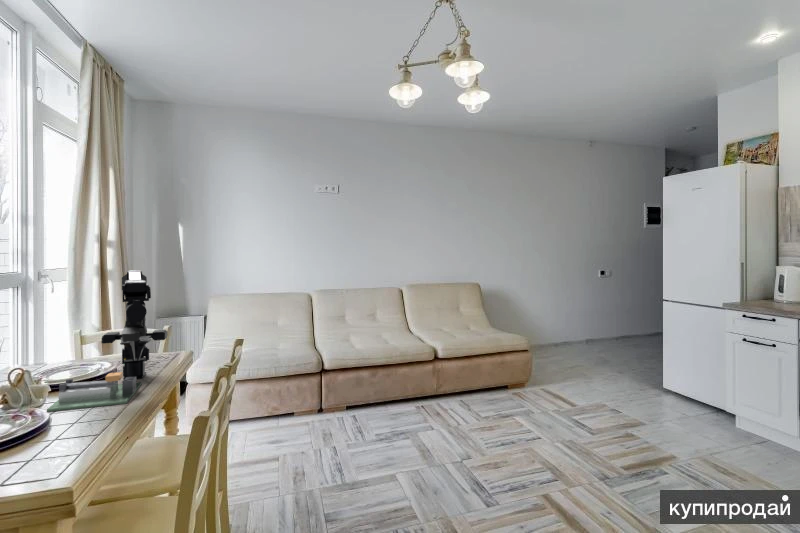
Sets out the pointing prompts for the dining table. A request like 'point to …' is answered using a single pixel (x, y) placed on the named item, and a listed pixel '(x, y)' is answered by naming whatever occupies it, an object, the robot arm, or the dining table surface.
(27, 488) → the dining table surface
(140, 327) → the robot arm
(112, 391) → the green flat square base
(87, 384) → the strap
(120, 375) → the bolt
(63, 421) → the dining table surface
